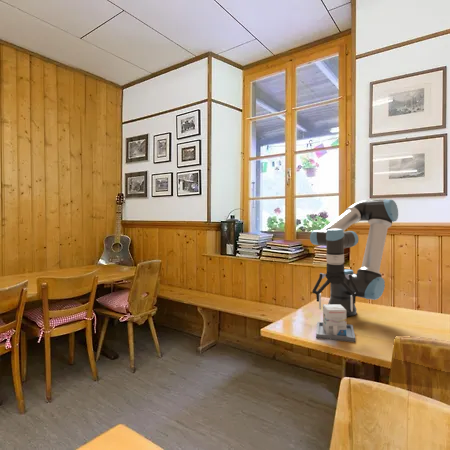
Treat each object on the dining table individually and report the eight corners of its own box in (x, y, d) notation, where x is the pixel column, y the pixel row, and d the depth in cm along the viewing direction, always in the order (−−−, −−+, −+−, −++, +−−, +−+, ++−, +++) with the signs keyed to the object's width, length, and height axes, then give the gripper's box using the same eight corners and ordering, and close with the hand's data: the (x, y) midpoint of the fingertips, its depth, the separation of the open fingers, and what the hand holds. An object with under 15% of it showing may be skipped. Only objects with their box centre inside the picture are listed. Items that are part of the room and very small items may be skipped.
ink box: (341, 328, 150) (341, 303, 150) (346, 335, 142) (347, 309, 141) (322, 328, 151) (322, 303, 150) (327, 335, 142) (327, 309, 142)
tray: (317, 325, 156) (317, 313, 156) (352, 328, 152) (352, 316, 151) (316, 338, 141) (316, 325, 141) (355, 342, 136) (355, 329, 136)
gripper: (306, 264, 145) (306, 310, 146) (366, 265, 137) (366, 314, 139) (307, 261, 152) (307, 305, 154) (364, 262, 145) (364, 308, 146)
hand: (335, 309), depth 146 cm, fingers open, 13 cm apart
